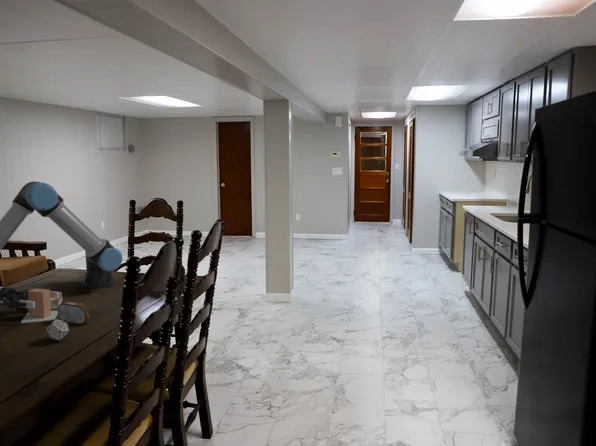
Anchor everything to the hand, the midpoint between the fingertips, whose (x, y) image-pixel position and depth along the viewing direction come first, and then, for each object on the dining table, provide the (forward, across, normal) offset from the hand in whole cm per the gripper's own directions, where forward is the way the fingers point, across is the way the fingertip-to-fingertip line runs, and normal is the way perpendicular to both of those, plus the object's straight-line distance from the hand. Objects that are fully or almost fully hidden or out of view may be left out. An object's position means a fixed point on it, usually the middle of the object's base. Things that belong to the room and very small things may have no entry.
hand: (46, 299), depth 195 cm
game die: (+21, +20, -8) cm, 30 cm away
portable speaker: (+14, +2, -8) cm, 17 cm away
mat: (-3, 0, -8) cm, 8 cm away
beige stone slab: (-12, -13, -8) cm, 20 cm away
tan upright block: (-3, 0, -7) cm, 8 cm away
